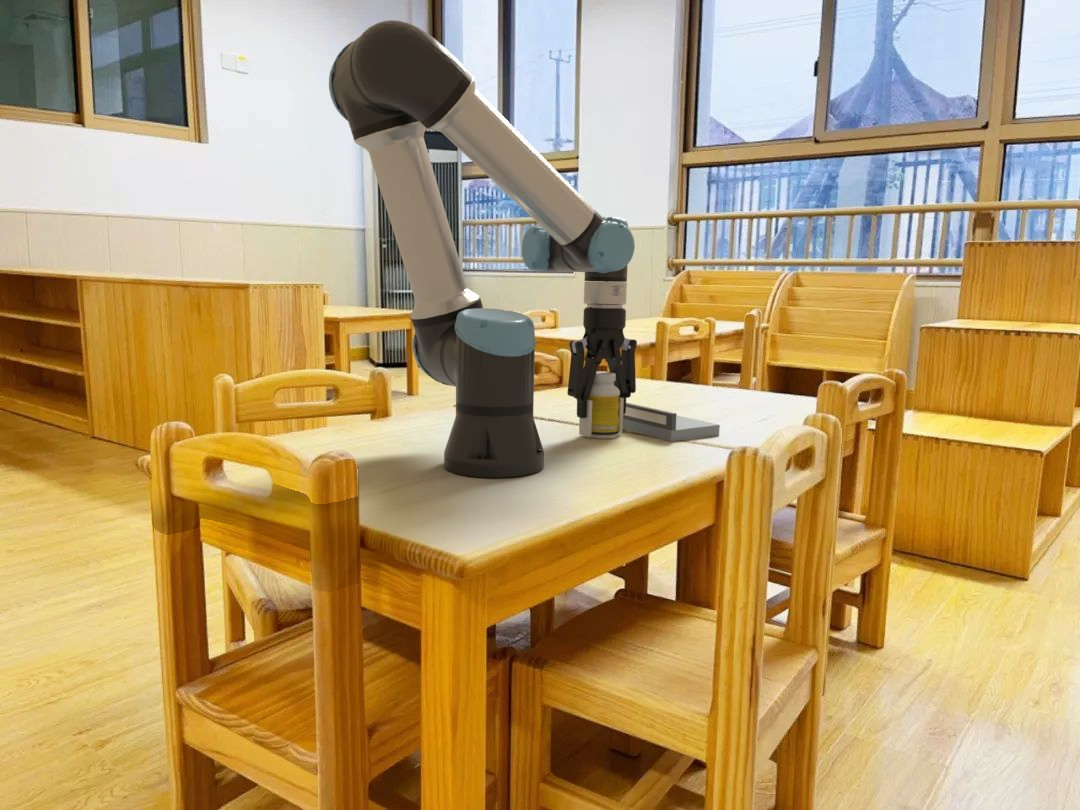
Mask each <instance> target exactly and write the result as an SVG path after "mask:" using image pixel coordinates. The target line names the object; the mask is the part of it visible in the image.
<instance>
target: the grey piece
mask: <svg viewBox="0 0 1080 810" xmlns="http://www.w3.org/2000/svg"><path fill="white" fill-rule="evenodd" d="M720 426H721V425H720V424H717V423H714V422H708V421H704V420H699V419H695V418H691V417H686V416H682V415H677V413H676V412H672V411H666V410H662V409H657V408H653V407H648V406H644V405H639V404H635V403H631V402H626V412H625V414H623V430H625V431H629V432H633V433H636V434H641V435H645V436H647V437H652V438H656V439H660V440H664V441H668V442H679V441H686V440H694V439H702V438H710V437H717V436H720V429H721V428H720Z"/></svg>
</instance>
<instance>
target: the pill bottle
mask: <svg viewBox="0 0 1080 810" xmlns="http://www.w3.org/2000/svg"><path fill="white" fill-rule="evenodd" d="M615 380H616V374H615V373H613V372H610V371H597V372H596V376H595V379H594V382H593V386H592V389H591V392H590V396H589V399H588V400H592V434H591V437H590V438H592V439H600V440H602V439H604V440H605V439H607V440H608V439H609V440H610V439H614V438H617V437H618V435H620V433H619V408H620V391H619V389H618V388H617V387H616V386H614V381H615Z"/></svg>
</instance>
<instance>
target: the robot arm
mask: <svg viewBox="0 0 1080 810" xmlns="http://www.w3.org/2000/svg"><path fill="white" fill-rule="evenodd" d="M475 78H476V77H475V76H474V75H473V73H471V71H469V69H468V68H467V67H466V66H465V65H464V64H463V63H462V62H461V61H460V59H458V58H457V57H456V56H455V55H454V54H453V53H452V52H450V51H449V50H448V49H447V48H446V47H445V46H444V45H443V44H441V43H440V42H439V41H438V40H437V39H435V37H434V36H431V35H430V34H429V33H428V32H426V31H425V30H423V29H422V28H419V27H418V26H415V25H413V24H411V23H408V22H405V21H402V20H393V19H392V20H385V21H381V22H377V23H374V24H373V25H371V26H369V27H368V28H367V29H365V30H364V32H362V33H361V34H360V36H358V37H357V38H356V39H355V40H353V41H351V42H349V43H348V44H346V45H345V46H344V47H343V48H342V49H341V51H339V52H338V55H336V58H335V59H334V61H333V64H332V65H331V69H330V71H329V77H328V91H329V94H330V98H331V101H332V104H333V106H334V107H335V110H336V111H337V112H338V113H339V115H341V117H343V118H344V119H345V121H347V122H348V125H349V128H350V131H351V134H352V137H353V140H354V141H353V142H354V143H355V144H356V145H358V146H360V147H361V148H363V149H364V150H366V151H367V152H368V154H369V158H370V160H371V165H372V168H373V171H374V174H375V177H376V180H377V183H378V187H379V189H380V190H379V191H380V193H381V196H382V199H383V202H384V206H385V209H386V212H387V215H388V218H389V222H390V225H391V227H392V230H393V234H394V237H395V240H396V244H397V247H398V250H399V253H400V254H399V255H400V257H401V259H402V262H403V265H404V269H405V273H406V275H407V278H408V282H409V285H410V288H411V291H412V295H413V297H414V301H415V305H414V307H413V309H412V311H411V313H410V315H409V316H410V320H411V322H412V326H413V330H414V332H415V333H414V335H413V338H412V352H413V356H414V359H415V361H416V364H417V365H418V367H419V368H420V369H421V371H422V372H423V373H424V374H426V375H427V376H428V377H430V378H431V379H432V380H433V381H435V382H437V383H441V384H442V385H445V386H450V387H455V418H454V421H453V424H452V427H451V430H450V433H449V435H448V439H447V442H446V446H445V448H444V451H443V467H444V469H446V470H448V471H449V472H451V473H455V474H458V475H461V476H462V475H463V476H468V477H469V476H470V477H477V478H478V477H479V478H513V477H521V476H527V475H528V476H529V475H532V474H536V473H538V472H541V471H542V470H543V469H544V468H545V451H544V448H543V444H542V441H541V438H540V435H539V431H538V429H537V428H538V427H537V425H536V421H535V416H534V405H535V404H534V402H535V400H534V397H535V396H534V394H535V358H536V357H535V355H536V354H535V353H536V351H535V348H536V344H537V341H536V332H535V324H534V322H533V320H532V318H531V317H530V316H527V315H526V314H524V313H522V312H521V313H520V312H518V311H512V310H504V309H498V308H486V307H485V308H484V306H483V303H482V300H481V299H482V298H481V296H480V294H478V293H476V292H474V291H473V290H471V289H470V288H469V287H468V285H467V282H466V278H465V274H464V272H463V271H464V270H463V268H462V265H461V261H460V258H459V255H458V251H457V247H456V244H455V241H454V238H453V233H452V230H451V228H450V227H451V226H450V224H449V219H448V217H447V214H446V210H445V207H444V204H443V203H444V202H443V199H442V197H441V193H440V190H439V189H440V188H439V186H438V182H437V178H436V176H435V173H434V169H433V166H432V161H431V158H430V155H429V152H428V148H427V145H426V141H425V137H424V136H425V132H426V130H428V131H434V130H436V131H440V132H441V133H442V134H443V136H445V137H446V138H447V139H448V140H449V141H450V142H451V143H452V144H453V145H454V146H455V147H456V148H457V149H459V150H460V152H462V153H463V154H464V155H465V156H466V157H467V158H468V159H470V161H471V162H472V163H474V164H475V166H476V167H478V168H479V169H480V170H481V171H482V173H484V174H486V175H485V176H487V177H488V178H489V179H490V180H491V181H492V182H494V183H495V184H496V185H497V187H499V188H500V189H501V190H502V191H503V192H504V193H505V194H506V195H507V196H508V197H510V199H512V201H513V202H515V204H517V205H518V206H519V207H520V208H521V209H522V210H523V211H525V213H527V215H529V216H530V217H531V219H533V220H534V221H535V222H536V223H537V224H538V225H533V226H530V227H529V228H527V230H526V231H525V232H524V235H523V238H522V242H521V257H522V260H523V264H524V265H525V267H526V268H528V269H529V270H530V271H536V272H543V273H547V272H557V273H563V272H565V273H570V272H571V273H573V272H577V273H584V289H583V304H585V305H586V307H584V308H583V318H582V320H583V322H582V323H583V324H582V325H583V328H584V334H583V336H582V338H580V339H578V340H571V341H569V349H570V364H569V371H568V372H569V375H568V381H567V383H568V384H567V395H568V396H569V397H573V398H574V399H575V400H576V417H577V418H578V419H579V423H578V425H579V426H578V429H579V430H578V435H580V436H582V437H587V438H591V434H592V400H588V399H589V396H590V392H591V389H592V386H593V382H594V379H595V376H596V372H598V368H599V366H600V365H601V363H602V361H603V360H605V362H606V363H607V367H608V370H609V371H608V372H613V373H615V374H616V380H615V381H614V386H616V387H617V388H618V389H619V391H620V408H619V434H623V430H624V429H623V414H625V412H626V403H627V398H628V399H629V398H631V396H632V394H634V393H636V390H637V389H636V388H637V385H636V383H637V382H636V379H637V378H636V361H635V360H636V348H637V344H638V342H637V340H636V339H630V338H626V337H625V335H624V334H625V333H624V329H625V327H626V322H627V318H626V317H627V309H626V308H625V307H623V306H625V305H626V304H627V294H628V293H627V287H628V283H627V279H628V265H629V263H631V261H632V259H633V256H634V254H635V248H636V247H635V245H636V243H635V237H634V236H633V233H632V231H631V229H630V228H629V223H628V221H627V220H626V219H625V218H622V217H614V216H602V215H601V214H599V212H598V211H597V210H595V208H593V206H592V205H591V204H590V203H589V202H588V201H587V200H586V199H585V198H584V197H583V196H582V195H581V194H580V193H579V192H578V191H577V190H576V189H575V188H574V187H573V186H572V185H571V184H570V183H569V182H568V181H567V180H566V179H565V178H564V177H563V176H562V175H561V174H560V172H558V171H557V169H555V168H554V167H553V165H551V163H550V162H548V160H546V158H544V156H543V155H542V154H540V152H539V151H538V150H537V149H536V148H534V146H533V145H532V144H531V143H530V142H529V141H528V140H527V139H526V138H525V137H524V136H523V135H522V134H521V133H520V132H519V131H518V130H517V129H516V128H515V127H514V126H513V125H512V124H511V123H510V121H508V120H507V119H506V118H505V117H504V116H503V114H502V113H500V112H499V110H497V108H495V106H493V104H491V103H490V101H489V100H487V99H486V97H484V95H482V93H480V91H479V90H478V89H477V88H476V81H475ZM620 349H621V351H620ZM585 352H586V353H585Z"/></svg>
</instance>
